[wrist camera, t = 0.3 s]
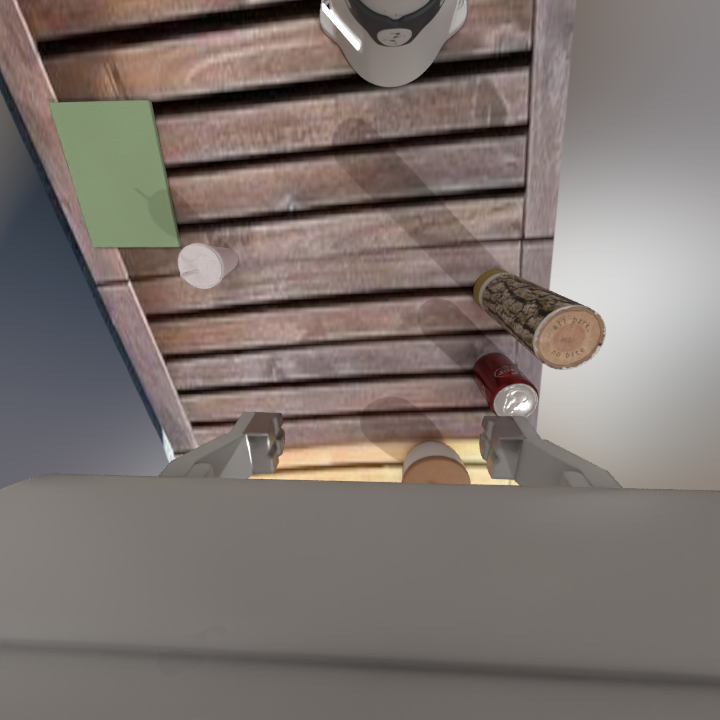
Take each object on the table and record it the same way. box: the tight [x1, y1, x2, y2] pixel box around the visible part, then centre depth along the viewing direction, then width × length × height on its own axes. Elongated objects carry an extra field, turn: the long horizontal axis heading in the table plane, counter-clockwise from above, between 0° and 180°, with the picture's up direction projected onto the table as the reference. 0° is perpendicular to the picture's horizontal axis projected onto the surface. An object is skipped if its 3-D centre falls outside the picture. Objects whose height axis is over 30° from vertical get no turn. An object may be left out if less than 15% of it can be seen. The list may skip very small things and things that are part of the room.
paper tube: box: [473, 269, 606, 370], centre depth 45 cm, size 7×7×25 cm
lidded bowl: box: [402, 441, 470, 484], centre depth 66 cm, size 13×13×11 cm
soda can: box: [473, 353, 539, 417], centre depth 57 cm, size 7×7×12 cm
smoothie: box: [178, 243, 238, 289], centre depth 51 cm, size 6×6×14 cm
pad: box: [49, 100, 181, 247], centre depth 53 cm, size 20×15×1 cm
